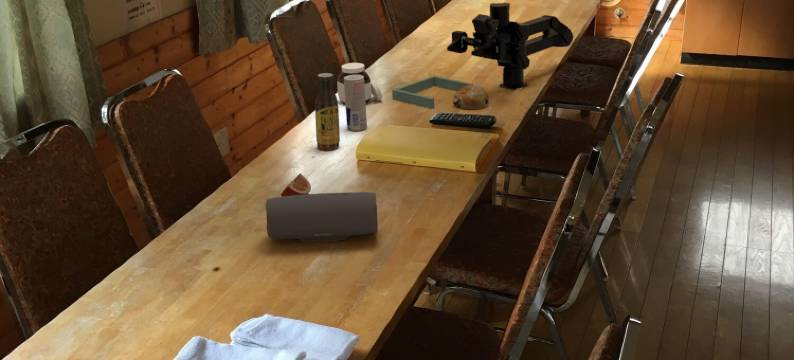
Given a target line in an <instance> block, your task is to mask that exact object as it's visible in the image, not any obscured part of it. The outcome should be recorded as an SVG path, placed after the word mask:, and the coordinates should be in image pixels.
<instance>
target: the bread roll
mask: <svg viewBox="0 0 794 360" xmlns="http://www.w3.org/2000/svg"><path fill="white" fill-rule="evenodd" d="M452 104H453V105H454V106H456V108H457V109H461V110H466V111H471V110H473V111H475V110H482V109H485V108H487V107H488V106H489V105H488V104H489V94H488V92H487V91H486V90H485V88H483V87H482V86H480V85H478V84H473V85H468V86H465V87H463V88H461V89H460V90H459V91H456V93H455V94H454V95H453V100H452Z"/></svg>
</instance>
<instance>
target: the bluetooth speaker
mask: <svg viewBox="0 0 794 360" xmlns="http://www.w3.org/2000/svg"><path fill="white" fill-rule="evenodd" d="M265 212H266V214H265V215H266V234H267V237H268V238H270V239H292V240H294V239H297V240H299V241H300V242H302V243H317V242H318V243H319V242H321V243H322V242H337V241H344V240H345V241H346V240H349V238H350V236H358V235H367V234H368V235H369V234H372V233H373V234H374V233H377V232H379V228H378V226H379V223H378V221H379V220H378V205H377V193H376V192H368V191H367V192H365V191H364V192H363V191H362V192H359V191H358V192H355V191H354V192H352V191H351V192H326V193H325V192H323V193H322V192H320V193H310V194H309V193H308V194H306V195H294V196H284V197H282V196H277V197H270V198H266V201H265Z"/></svg>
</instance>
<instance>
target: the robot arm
mask: <svg viewBox="0 0 794 360" xmlns="http://www.w3.org/2000/svg"><path fill="white" fill-rule="evenodd" d="M510 4H511V3H510V2H497V3H495V2H493V3H490V4H489V15H487V14H482V13H478V14H477V15H476V16H475V17H474V18H473V19H472V20H471V23H472V25H473V29H474V32H472V37H469V36H468V33H467V32H466V31H463V30H462V31H461V30H454V31H452V32H451V43H449V44H448V46H447V47H446V51H448V52H452V53H456V54H464V53H467V51H468V48H469V47H472V48H473V49H474V50H472V51H471V53H470V54H471V55H470V56H473V57H478V58H484V59H489V60H493V61H495V60H496V62H497V66H498V67H503V68H502V69H503V70H502V71H503V72H502V83H500V84H499V85H498V86H499V87H503V88H507V89H512V90H518V89H520V88H522V87H526V86H528V83H527V82H525V81H524V79H525V78H524V75H525V73H524V70H527V68H529V66H530V62H531V60H530V59H529V57H528V56H532V55H533V54H536V53H540V52H541V51H544V50H547V49H550V48H553V47H555V48H566V47H567V48H568V47H570V45H571V44H572V43H573V40H574V34H573V32H572V29H571V28H569V27H568V26H567V25H566V24H564V23H563V22H562V21H560V20H559V18H558V17H556V16H555V15H548V14H544V15H542V16H539V17H537V18H533V19H530V20H528V21H524V22H517V21H512V20H510V8H511V7H510V6H511V5H510ZM539 33H542V34H541V35H539V36H536V37H532V38H529V37H530V36H534V35H537V34H539Z"/></svg>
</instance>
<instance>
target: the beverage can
mask: <svg viewBox="0 0 794 360" xmlns="http://www.w3.org/2000/svg"><path fill="white" fill-rule="evenodd" d="M344 90H345V104H346V105H345V104H344V105H345V116H346V117H345V118H346V119H345V120H346V128H347V129H348V130H349V131H353V132H359V131H364V130H365V129H367V128H368V124H367V123H368V121H367V119H368V118H367V103H366V101H365V84H364V76H362V75H349V76H346V77H344Z"/></svg>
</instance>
